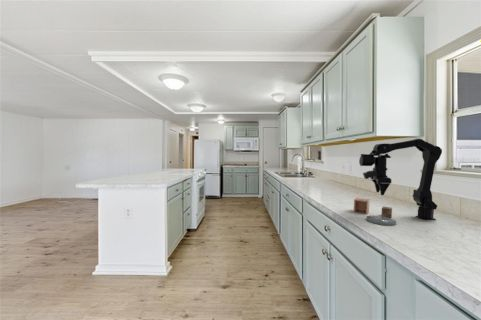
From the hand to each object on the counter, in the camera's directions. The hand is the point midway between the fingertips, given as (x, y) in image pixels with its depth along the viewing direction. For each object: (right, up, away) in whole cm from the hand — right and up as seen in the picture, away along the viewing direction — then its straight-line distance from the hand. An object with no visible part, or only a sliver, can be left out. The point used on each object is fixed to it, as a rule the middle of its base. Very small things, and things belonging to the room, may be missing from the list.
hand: (379, 193), depth 128 cm
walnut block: (+2, -12, -2) cm, 13 cm away
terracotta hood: (-7, -12, +7) cm, 15 cm away
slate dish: (-7, -13, -11) cm, 18 cm away
